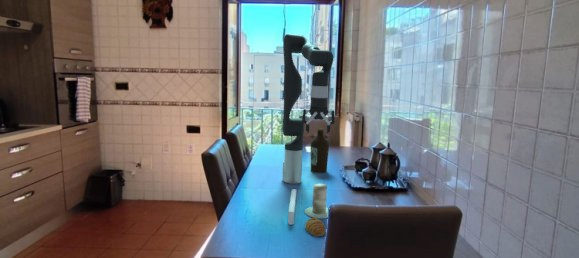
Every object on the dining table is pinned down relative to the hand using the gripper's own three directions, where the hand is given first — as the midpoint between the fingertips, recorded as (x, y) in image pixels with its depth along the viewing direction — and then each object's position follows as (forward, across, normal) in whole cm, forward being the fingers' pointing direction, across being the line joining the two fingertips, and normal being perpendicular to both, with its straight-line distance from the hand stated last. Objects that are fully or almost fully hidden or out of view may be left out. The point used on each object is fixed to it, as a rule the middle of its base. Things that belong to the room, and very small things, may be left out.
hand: (317, 132), depth 161 cm
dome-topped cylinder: (+30, -2, +18) cm, 35 cm away
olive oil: (+30, -3, -45) cm, 55 cm away
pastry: (+30, 0, +35) cm, 46 cm away
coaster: (+30, -2, +18) cm, 35 cm away
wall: (+30, +10, +18) cm, 36 cm away
